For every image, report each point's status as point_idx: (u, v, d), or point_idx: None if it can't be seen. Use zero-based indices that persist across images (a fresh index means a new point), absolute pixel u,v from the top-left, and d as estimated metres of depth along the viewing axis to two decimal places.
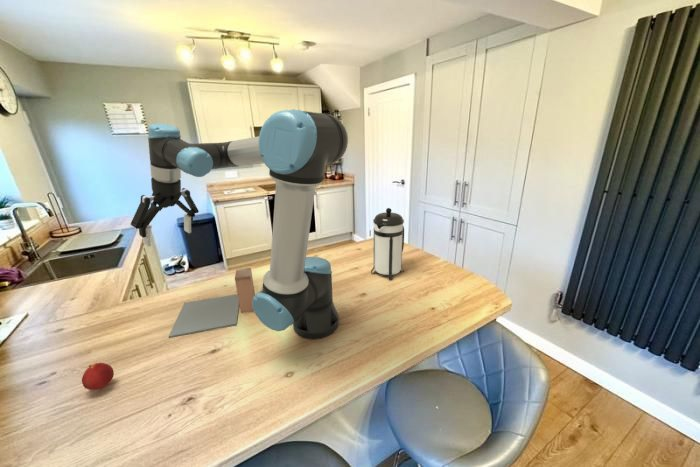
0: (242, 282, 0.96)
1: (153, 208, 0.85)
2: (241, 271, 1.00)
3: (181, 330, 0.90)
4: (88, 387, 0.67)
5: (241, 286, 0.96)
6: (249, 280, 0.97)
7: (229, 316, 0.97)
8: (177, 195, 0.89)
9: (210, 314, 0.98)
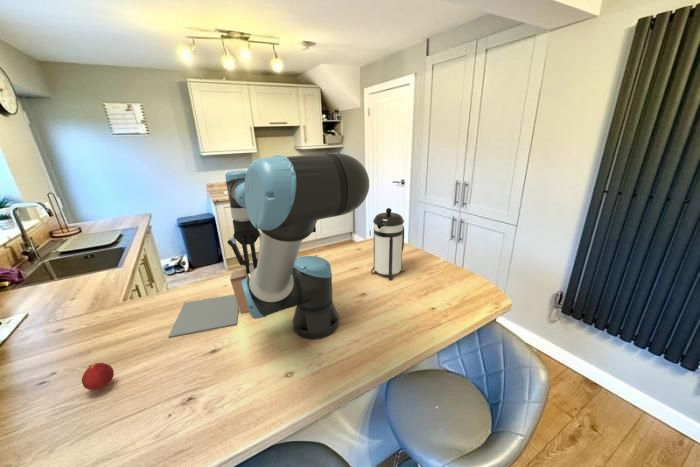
0: (238, 282, 0.96)
1: (242, 247, 0.96)
2: (236, 271, 0.99)
3: (181, 330, 0.90)
4: (88, 387, 0.67)
5: (237, 286, 0.96)
6: None
7: (229, 316, 0.97)
8: (255, 233, 0.95)
9: (210, 314, 0.98)
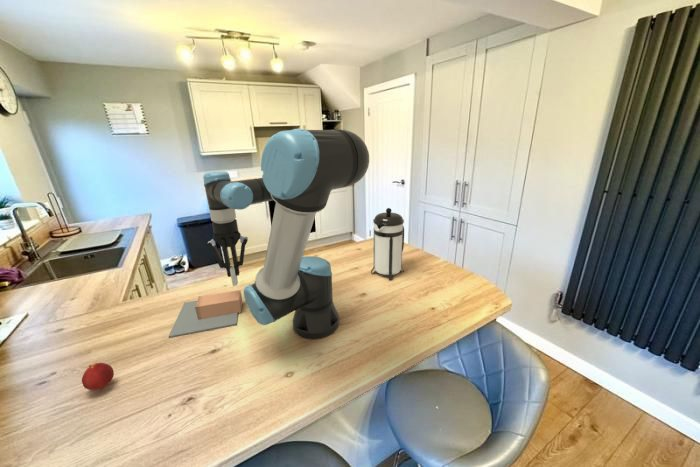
0: (202, 313, 0.95)
1: None
2: None
3: (181, 330, 0.90)
4: (88, 387, 0.67)
5: (207, 313, 0.96)
6: (200, 307, 0.94)
7: (229, 316, 0.97)
8: (235, 236, 0.93)
9: None
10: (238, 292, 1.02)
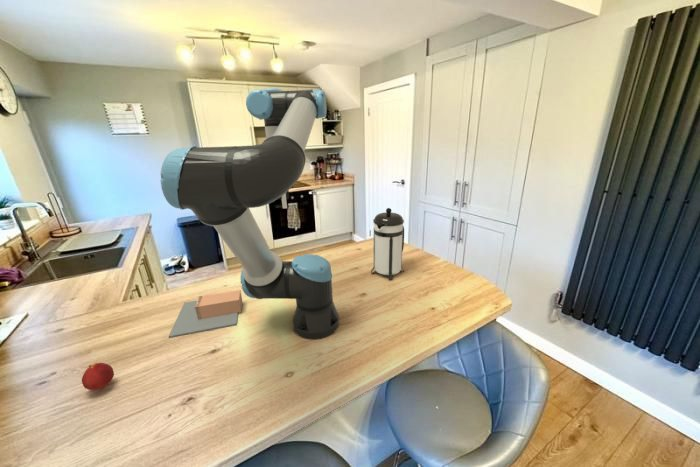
0: (202, 313, 0.95)
1: None
2: None
3: (181, 330, 0.90)
4: (88, 387, 0.67)
5: (207, 313, 0.96)
6: (200, 307, 0.94)
7: (229, 316, 0.97)
8: None
9: None
10: (238, 292, 1.02)
